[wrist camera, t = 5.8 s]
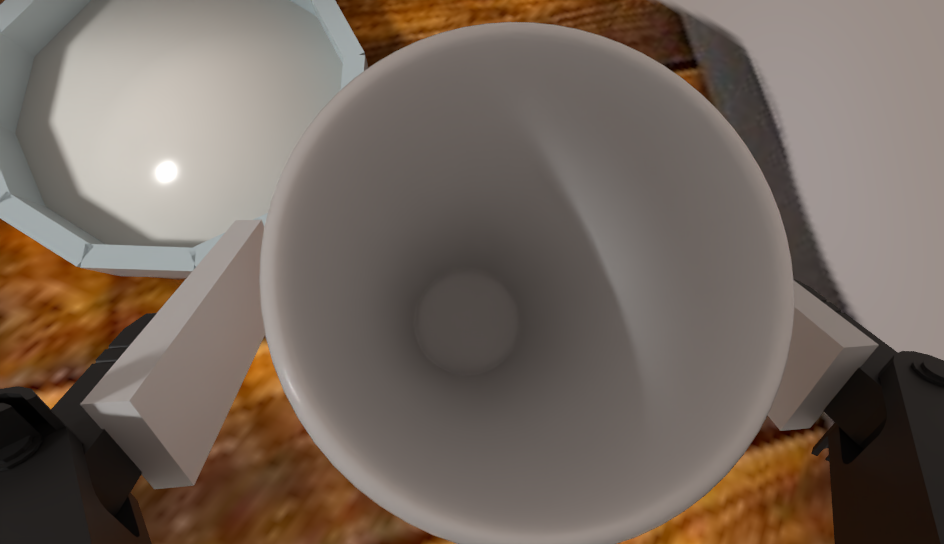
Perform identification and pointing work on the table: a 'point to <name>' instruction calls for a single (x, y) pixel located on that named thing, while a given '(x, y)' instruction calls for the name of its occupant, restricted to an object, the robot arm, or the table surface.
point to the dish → (157, 120)
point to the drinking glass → (526, 287)
